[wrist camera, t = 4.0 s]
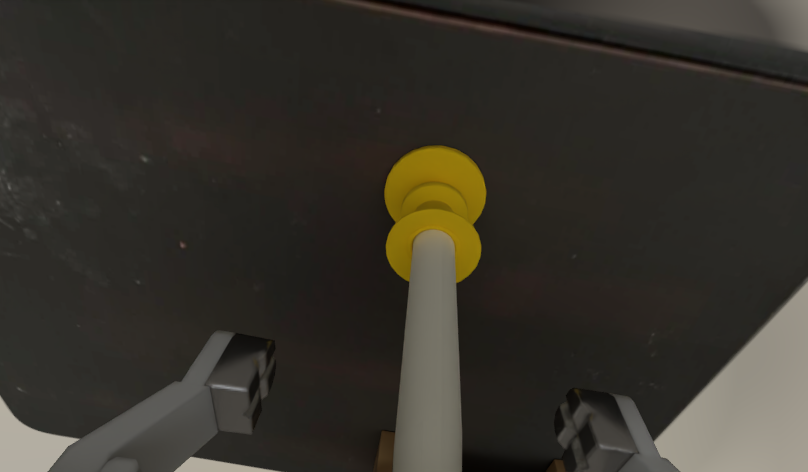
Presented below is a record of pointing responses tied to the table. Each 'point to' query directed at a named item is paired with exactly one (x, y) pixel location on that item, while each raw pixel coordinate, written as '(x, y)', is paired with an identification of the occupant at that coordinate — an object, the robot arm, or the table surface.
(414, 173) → the candle
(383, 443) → the shelf
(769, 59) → the table surface
